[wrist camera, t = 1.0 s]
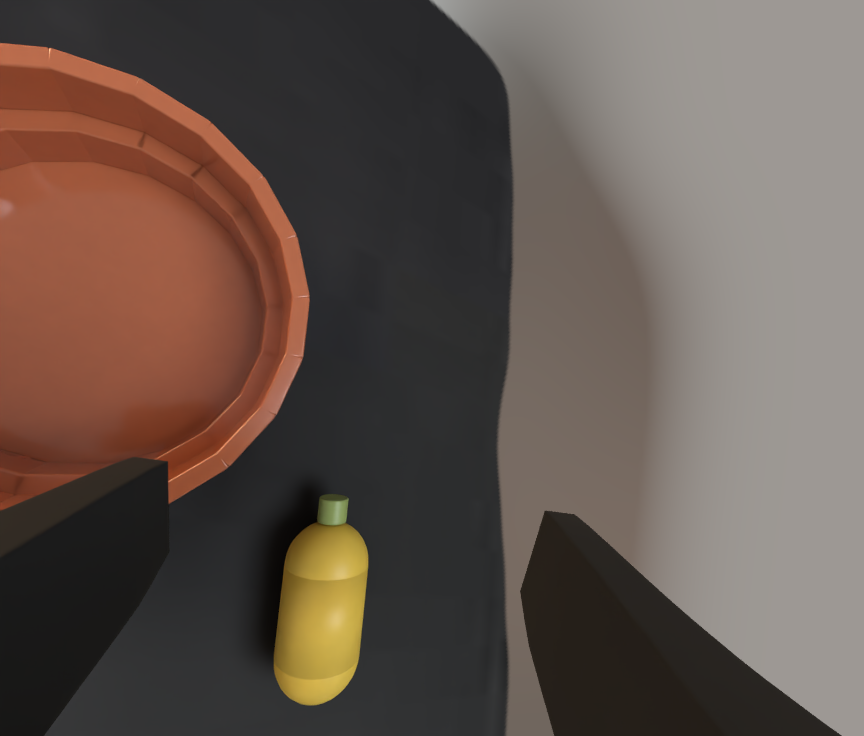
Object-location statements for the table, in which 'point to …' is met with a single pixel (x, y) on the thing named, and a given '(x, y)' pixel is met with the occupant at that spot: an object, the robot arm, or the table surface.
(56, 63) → the basin
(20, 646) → the robot arm
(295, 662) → the yellow squeeze bottle
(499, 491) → the table surface
